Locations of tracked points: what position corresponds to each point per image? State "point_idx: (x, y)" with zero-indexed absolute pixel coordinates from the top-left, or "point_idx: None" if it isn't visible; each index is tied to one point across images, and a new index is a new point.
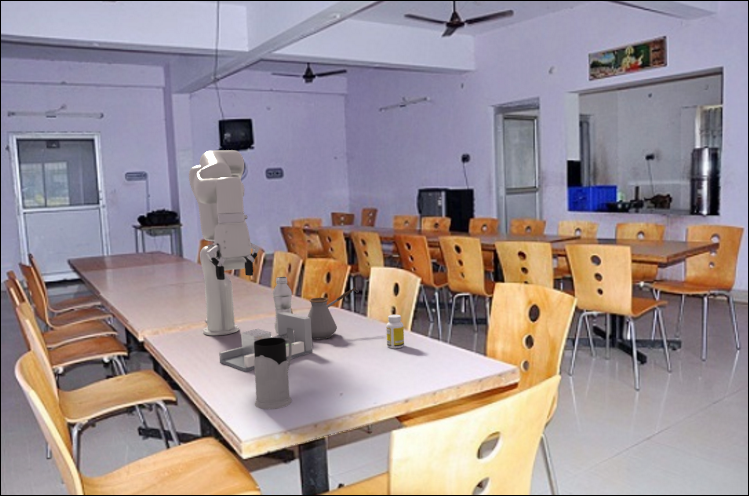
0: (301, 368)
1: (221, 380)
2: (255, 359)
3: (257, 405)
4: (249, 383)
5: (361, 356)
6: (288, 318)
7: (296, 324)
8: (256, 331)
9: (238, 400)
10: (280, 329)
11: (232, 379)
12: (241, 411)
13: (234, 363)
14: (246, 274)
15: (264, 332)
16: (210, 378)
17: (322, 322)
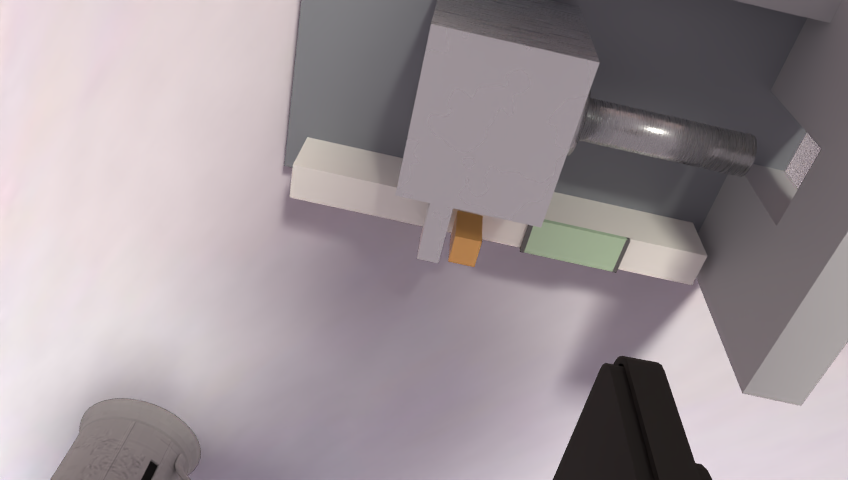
0: (470, 341)
1: (133, 141)
2: None
3: (79, 430)
4: (198, 275)
5: (728, 455)
6: (838, 216)
7: (771, 283)
8: (515, 116)
9: (64, 350)
10: None
11: (178, 177)
12: (24, 409)
13: (308, 44)
14: (595, 394)
15: (516, 189)
16: (109, 66)
17: None
